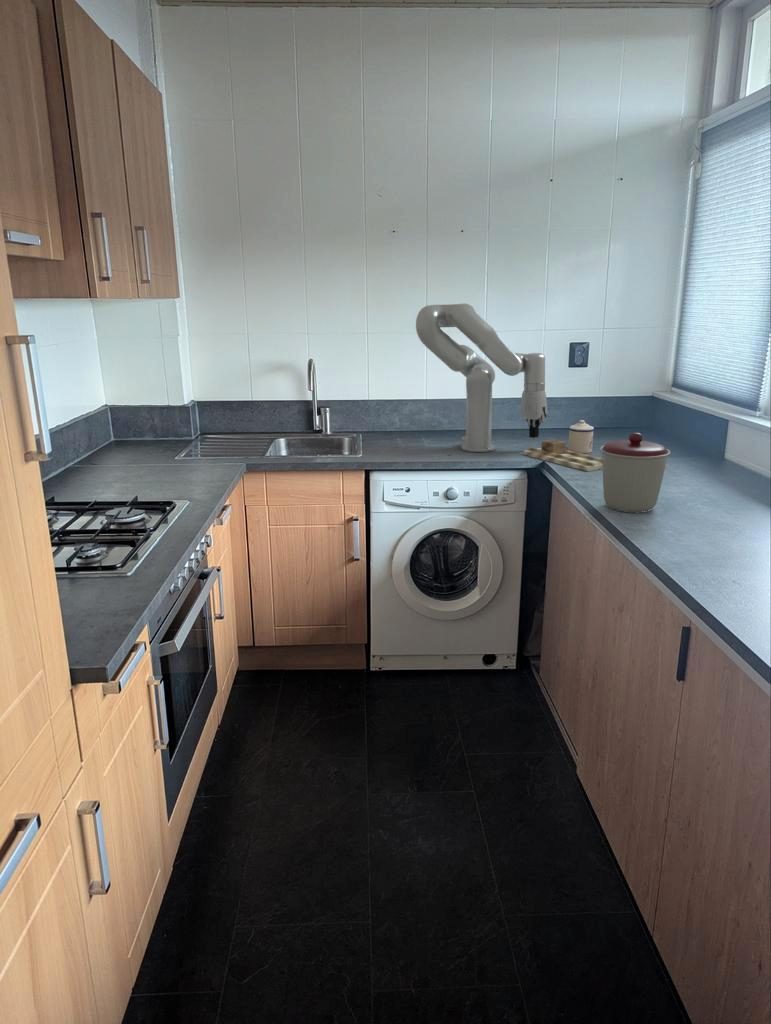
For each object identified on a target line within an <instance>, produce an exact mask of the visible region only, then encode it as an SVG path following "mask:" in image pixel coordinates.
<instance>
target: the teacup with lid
mask: <svg viewBox="0 0 771 1024" xmlns="http://www.w3.org/2000/svg"><path fill="white" fill-rule="evenodd" d="M568 429H569V431H568V432H569V434H568V447H567V448H568V451H572V452H576V453H580V454H584V455H585V454H590V453H592V452H593V443H594V441H593V440H594V431H595V428H594V426H592V425H589V424H588V423H586V422H585V420H583V419H580V420H579V421H578V423H575V424H573V425H570V426H569V428H568Z"/></svg>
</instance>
